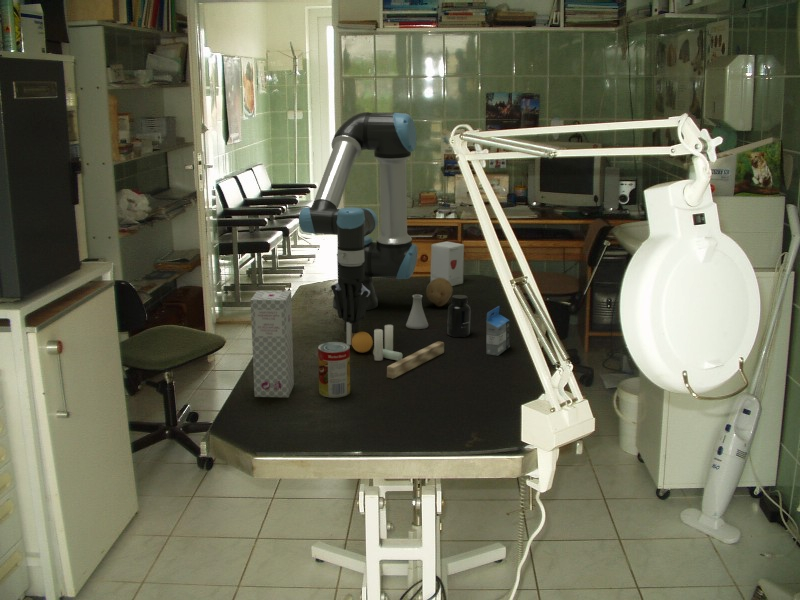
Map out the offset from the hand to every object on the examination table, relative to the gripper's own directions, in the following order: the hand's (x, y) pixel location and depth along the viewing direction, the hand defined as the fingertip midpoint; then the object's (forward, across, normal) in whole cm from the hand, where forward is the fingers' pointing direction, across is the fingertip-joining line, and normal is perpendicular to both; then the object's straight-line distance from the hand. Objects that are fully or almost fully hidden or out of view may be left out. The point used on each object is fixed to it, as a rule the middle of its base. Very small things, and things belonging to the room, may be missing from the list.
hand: (351, 343), depth 253 cm
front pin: (+1, +8, 0) cm, 8 cm away
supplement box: (+2, -17, +82) cm, 84 cm away
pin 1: (+2, +11, -2) cm, 12 cm away
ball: (-1, +4, 0) cm, 4 cm away
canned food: (+2, +16, -29) cm, 33 cm away
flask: (+2, +3, +30) cm, 30 cm away
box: (+2, +3, -37) cm, 37 cm away
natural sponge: (+2, -3, +53) cm, 53 cm away
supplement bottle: (+2, +18, +30) cm, 35 cm away
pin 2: (+2, +11, +3) cm, 12 cm away
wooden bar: (+2, +22, 0) cm, 22 cm away
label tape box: (+2, +35, +23) cm, 42 cm away
